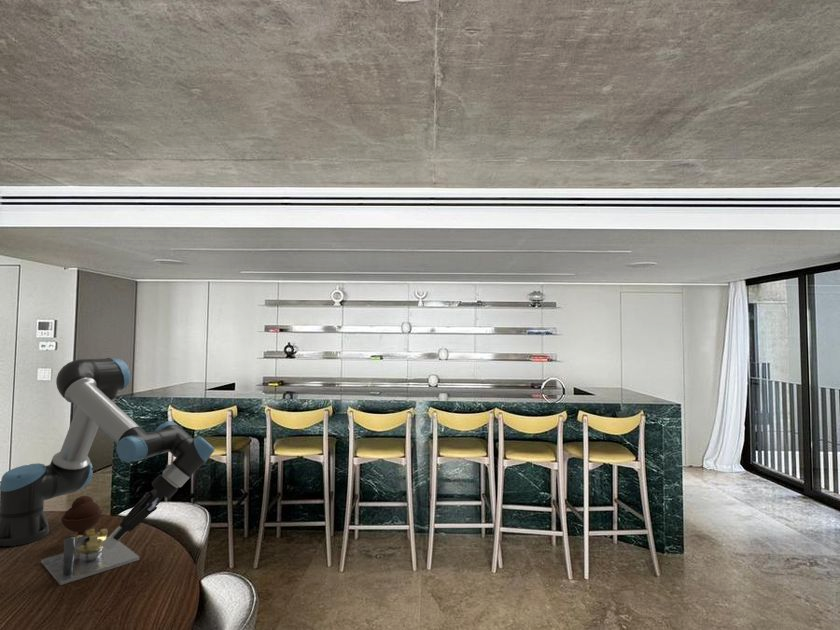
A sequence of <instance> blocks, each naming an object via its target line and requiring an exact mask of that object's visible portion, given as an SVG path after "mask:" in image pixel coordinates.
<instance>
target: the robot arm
mask: <svg viewBox="0 0 840 630" xmlns="http://www.w3.org/2000/svg"><path fill="white" fill-rule="evenodd" d="M130 382H131V371H130V369H129V366H128V365H127V363H126V361H124V360H122V359H121V358H117V357H116V358H114V357H113V358H111V357H106V358H88V359H86V358H85V359H84V358H81V359H79V358H78V359H74V360H72V361H69V362H68V363H66V364H64V365H63V366H62V368H61V369H60V370H59V371H58V373H57V375H56V381H55V383H56V385H55V386H56V389H57V390H58V393H59V395H60V396H61V397H62V398H63V399H65V401H66V402H68V403H72V404H75V405H76V406H77V407H76V410H75V412H74V415H73V418H72V420H71V422H70V425H69V428H68V430H67V432H66V436H65V438H64V441H63V444H62V446H61V449H60V451H58V452H56V453H55V454H54V455H53V456H52V458H51V461H50V463H49V464H48V465H45V464H44V463H40V462H38V463H30V464H24V465H21V466H16V467H14V468H12V469H9V470H8V471H6V472H5V473H3V474H2V476H1V478H0V479H1V480H0V546H4V547H3V548H6V547H5V546H11V547H17V546H16V545H18V546H22V544H23V545H26V543H27V544H29V543H33V542H36V541H38V540H41V539H43V538H45V537H46V536H47V535H48V534H49V532H50V526H49V523H48V522H49V521H48V519H47V517H46V514H45V512H44V505H45V501H47V500H50V499H54V498H57V497H60V496H64V495H68V494H72V493H75V492H77V491H79V490H80V491H81V490H82V489H84V488H85V487H87V486H88V484H89V483H90V481H91V480H92V477H93V475H94V473H93V472H94V471H93V470H92V469H93V468H94V467H93V464H92V461H91V459H90V457H89V452H90V449H91V448H92V445H93V442H94V439H95V437H96V435H97V433H98V430H99V428H100V429H101V430H102V431H103V432H104V433H106V434H107V435H108V437H110V438H111V439H112V440H113V442H115V443H116V449H115V450H116V454H117V455H118V458H119V460H121V461H122V462H124V463H131V462H138V461H141V460H144V459H147V458H151V457H154V456H158V455H162V454H166V453H170V454H171V455H172V456H173V457H175V459H174V460H172V462H171V463H170V464H166V467H165V469H164V470H162V474H159V475H157V477H155V479H154V480H153V481H152V482H151V486H152V487H153V489H152V490H150V491H147V492H144V494H143V495H142V497H141V498H140V499H139V501H137V503H136V504H135V505H134V506H133V507H132V508H131V510H129V511H128V513H127V514H126V515H125V516H124V517H123V518H122V521H121V523H119V525H118V526H117V527H116V529H114V530H113V531H112V532H111V533H110V534H109V536H107V539H106V540H105V541H104V542H103V543H102V544H101V545H102V546H103V547H104V548H106V549H107V550H110V549H111V548H112V547H113V546H114V545H115V544H116V543H117V542H118V541H120V540H121V539H122V538H123V537H124V536H125V535H126V534H127V533H128V532H130V533H131V532H132V531H134V529H135V528H137V527H138V526H139V525H140V524H141V523H142V522H143V521H144V520H146V518H148V517H149V515H151V514H152V513H154V512H155V511H156V510H157V509H158V507H157V506H158V505H159V504H160V503H161V500H162V499H163V498H164V497H165V498H166V499H171V498H172V497H173V496H174V495H175V494H176V493H177V492H178V490H179V488H182V487H183V486H184V485H185V484H186V482H187V481H189V479H190V478H191V477H192V476H193V475H194V474H195V473H196V471H198V470H199V469H200V467H202V466H203V464H204V463H206V462H207V461H208V459H209V458H210V457H211V456H212V454H213V453H214V452H215V447H214V446H213V445H211V443H209V442H208V441H207V440H206V439H205V438H203V437H202V436H200V435H198V436H196V437H195V438H193V436H191V435H190V434H189V433H188V432H187V431H186V430H185V429H184V428H183V427H182V426H180V425H179V424H177V423H176V422H174V421H172V420H167V421H165V422H163V423H161V424H160V425H159V426H158V427H156V429H155V430H153V431H150V432H149V431H147V432H146V431H145V430H144V429H143V428H142V427H140V425H139V424H137V423H136V422H135V421H134V420H133V418H132V417H130V416H129V415H128V414H127V413H125V411H123V409H122V408H120V407H119V406H118V405H117V404H116V403H115V401H114V400H115V399H116V397H117V394H118V392H119V391H122V390H123V389H126V388H127V387H128V386H129V384H130ZM113 401H114V402H113Z"/></svg>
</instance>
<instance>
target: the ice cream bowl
mask: <svg viewBox="0 0 840 630" xmlns="http://www.w3.org/2000/svg"><path fill="white" fill-rule="evenodd" d="M102 513H103V510H101V508H100V505H98V503H96V502H95V501H94V499H93V498H92V496H88V495H82V496H79V497H76V498H75V499H74V501H73V502H72V503H71V507H70V508H69V509H68V510H66V511H65V513H64V514H63V516H62V517H61V523H62V525H63V526H64V528H66V529H67V530H69V531H72V532H74V533H77V536H78V535H84V534H86V532H87V530H88V529H92V528H93V527H94V526H95V525H96V524H97V523H98V522H99V520H100V518H101V516H102ZM75 541H76V539H75Z"/></svg>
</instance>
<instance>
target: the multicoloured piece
mask: <svg viewBox="0 0 840 630" xmlns="http://www.w3.org/2000/svg"><path fill="white" fill-rule="evenodd" d="M108 533H109V531H108V529H107V528H101V529H100V531H96V529H95V527H94V528H93V527H92V528H90V529H88V530H86V531H85V534H84V535H78V534H77V535H69V536H67V537H64V539H63V553H64V557H63V574H64V575H67V574H71V573H73V572H74V560H75V551H76V552H78V553H88V552H94V551H97V550H100V549H102V548H104V547H103V546H102V545H101V544H102V543H103V542H104V541H105V540H106V539H107V538H108V535H109V534H108ZM75 540H76V541H75Z"/></svg>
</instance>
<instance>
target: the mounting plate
mask: <svg viewBox="0 0 840 630" xmlns="http://www.w3.org/2000/svg"><path fill="white" fill-rule="evenodd" d="M63 557H64V552H63V553H60V554H57V555H56V554H55V555H53V556H49V557H45V558H42V559H41V560H40V561H41V564H42V565H43V566H44V568H45V569H46V570H47V571H48V572H49V574H50V575H51V576H52V577H53V579H54V580H55V581H56V582H57V583H58V585H59V586H64V585H66V584H68V583H73V582H76V581H78V580H82V579H85V578H87V577H91V576H94V575H96V574H100V573H103V572H106V571H109V570H112V569H117V568H119V567H122V566H125V565H129V564H131V563H134V562H137V561H140V556H139V555H138V554H137V553H135V552H134V551H133V550H132V549H130V547H127V546H126V545H125V543H122V542H121V541H120V540H119V541H118V542H117V543H116V544H115V545H114V546H113V547H112V548H111V549H110V550H107V549H106V548H102V549H100V550H97V551H94V552H88V553H78V552H76V551H75V560H74V572H73V573H71V574H67V575H64V574H63Z"/></svg>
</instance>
